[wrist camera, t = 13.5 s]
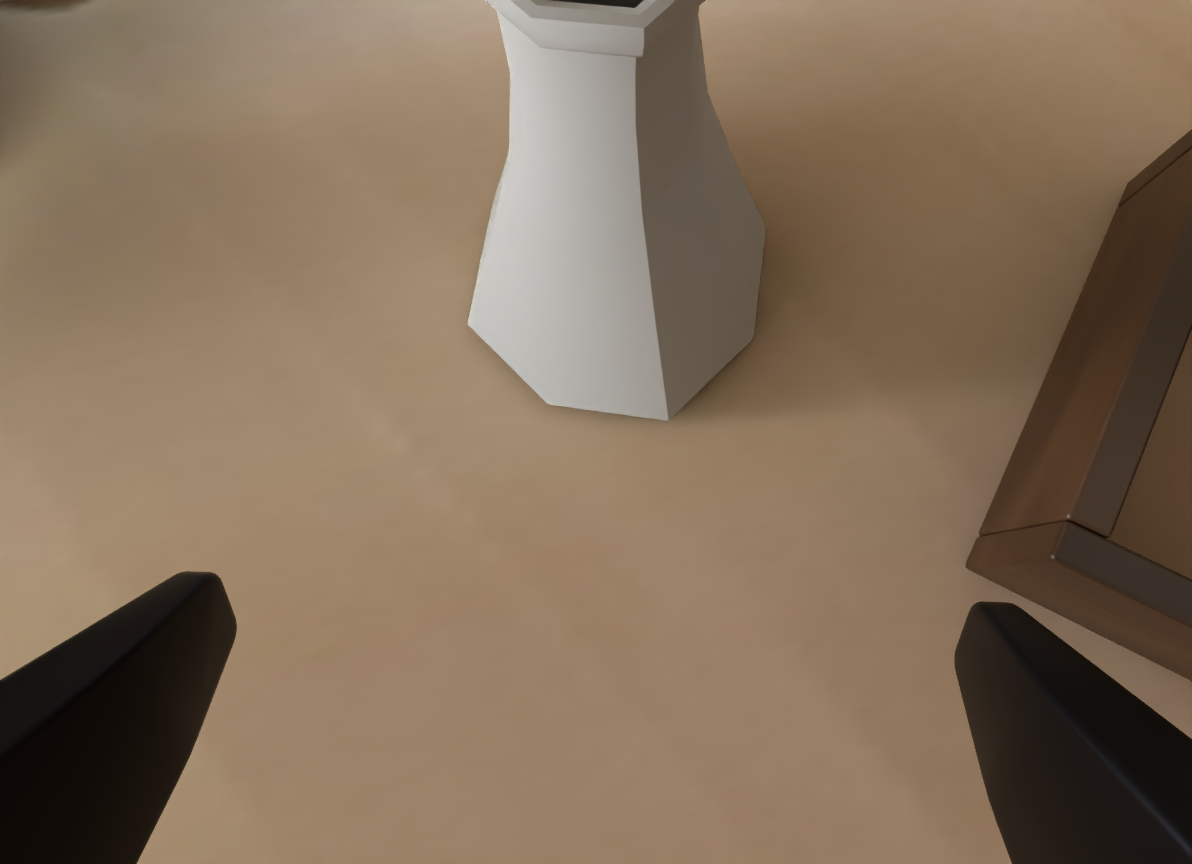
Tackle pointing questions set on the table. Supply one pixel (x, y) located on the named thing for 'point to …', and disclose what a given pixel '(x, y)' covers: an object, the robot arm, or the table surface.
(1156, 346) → the walnut divided tray
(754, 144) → the table surface
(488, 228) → the flask
